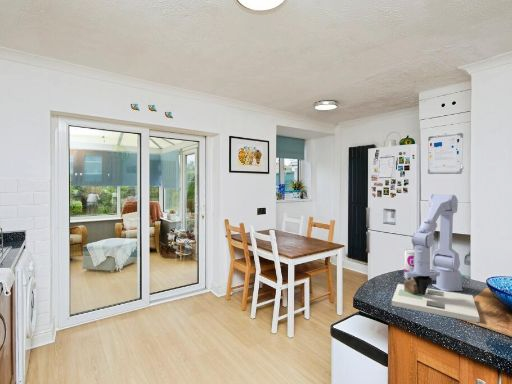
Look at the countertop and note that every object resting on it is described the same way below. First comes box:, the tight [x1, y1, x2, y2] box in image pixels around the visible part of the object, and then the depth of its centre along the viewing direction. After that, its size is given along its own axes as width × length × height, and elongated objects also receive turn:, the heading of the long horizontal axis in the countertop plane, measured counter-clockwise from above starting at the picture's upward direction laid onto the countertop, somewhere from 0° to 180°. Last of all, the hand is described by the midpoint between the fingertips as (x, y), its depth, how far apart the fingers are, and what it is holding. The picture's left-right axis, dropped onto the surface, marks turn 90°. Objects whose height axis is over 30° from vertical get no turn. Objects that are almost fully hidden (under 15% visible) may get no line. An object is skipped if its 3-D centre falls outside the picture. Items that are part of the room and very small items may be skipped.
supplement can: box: [403, 248, 414, 280], centre depth 145 cm, size 8×8×15 cm
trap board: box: [391, 283, 480, 323], centre depth 118 cm, size 28×23×2 cm
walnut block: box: [403, 279, 420, 295], centre depth 124 cm, size 5×5×4 cm
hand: (421, 293), depth 120 cm, fingers closed
